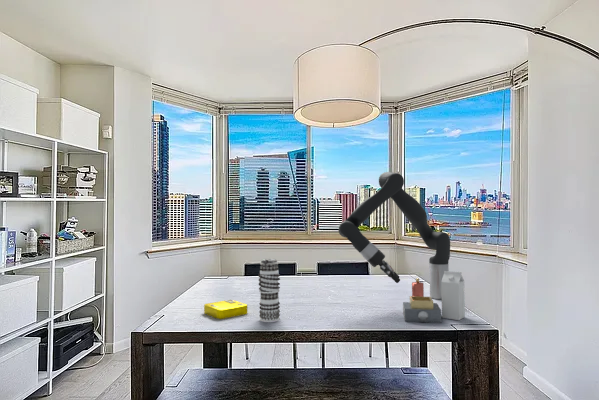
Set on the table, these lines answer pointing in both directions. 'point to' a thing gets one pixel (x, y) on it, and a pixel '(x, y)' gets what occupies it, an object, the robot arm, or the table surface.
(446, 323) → the table surface
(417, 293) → the red bottle
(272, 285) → the decorative candle
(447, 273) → the milk carton
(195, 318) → the table surface
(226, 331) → the table surface
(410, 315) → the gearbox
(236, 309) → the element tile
